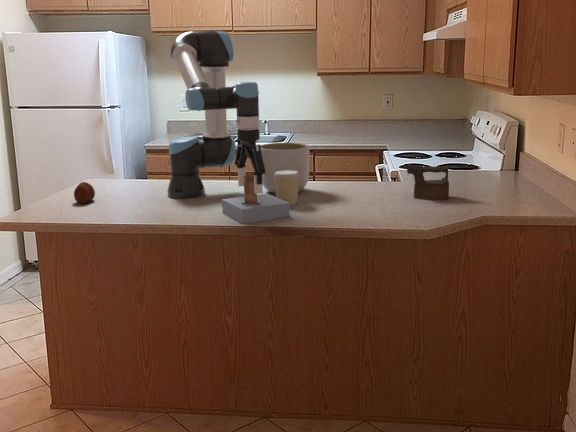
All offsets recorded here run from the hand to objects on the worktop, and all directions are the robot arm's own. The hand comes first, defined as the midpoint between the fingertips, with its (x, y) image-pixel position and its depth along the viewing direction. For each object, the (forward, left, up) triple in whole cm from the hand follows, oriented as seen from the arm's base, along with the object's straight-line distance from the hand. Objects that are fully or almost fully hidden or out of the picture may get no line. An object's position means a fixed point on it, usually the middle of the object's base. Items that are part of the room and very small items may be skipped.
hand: (250, 189), depth 221 cm
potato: (-59, -46, -10) cm, 75 cm away
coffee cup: (-13, +21, -10) cm, 26 cm away
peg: (0, 0, -10) cm, 10 cm away
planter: (-32, +30, -10) cm, 45 cm away
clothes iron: (+9, +72, -10) cm, 73 cm away
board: (-3, +3, -10) cm, 11 cm away
